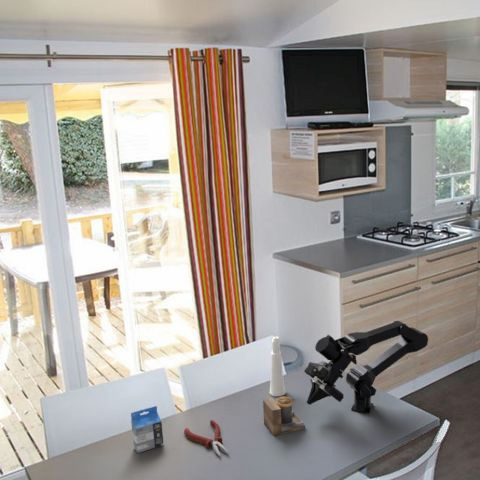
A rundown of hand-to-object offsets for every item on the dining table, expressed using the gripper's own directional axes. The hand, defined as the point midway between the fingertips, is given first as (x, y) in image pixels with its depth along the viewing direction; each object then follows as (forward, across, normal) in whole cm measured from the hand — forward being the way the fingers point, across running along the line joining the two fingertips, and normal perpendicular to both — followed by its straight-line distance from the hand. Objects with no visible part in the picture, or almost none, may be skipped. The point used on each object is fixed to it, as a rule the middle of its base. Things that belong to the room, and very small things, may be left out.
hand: (308, 403), depth 195 cm
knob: (+10, 0, -3) cm, 10 cm away
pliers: (+30, -2, -21) cm, 37 cm away
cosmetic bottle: (+6, -23, +3) cm, 24 cm away
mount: (+11, 0, -3) cm, 11 cm away
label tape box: (+42, -6, -34) cm, 54 cm away
